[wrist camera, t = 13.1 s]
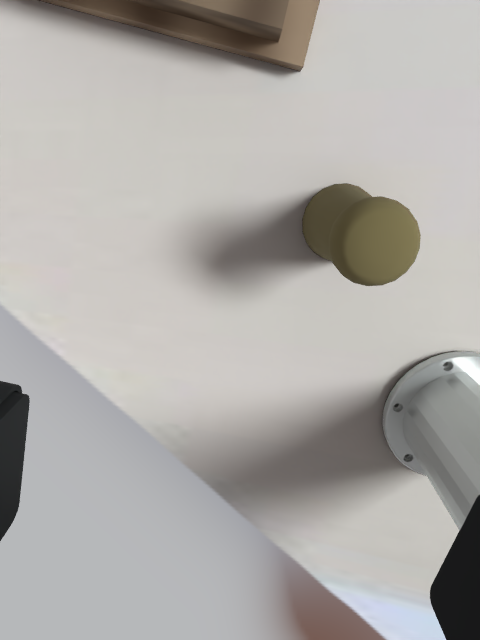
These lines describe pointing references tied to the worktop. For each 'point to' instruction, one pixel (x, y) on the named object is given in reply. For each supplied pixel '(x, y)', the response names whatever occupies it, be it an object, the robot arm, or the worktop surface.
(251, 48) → the brown rectangular recessed tray
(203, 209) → the worktop surface
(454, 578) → the robot arm
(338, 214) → the cork
